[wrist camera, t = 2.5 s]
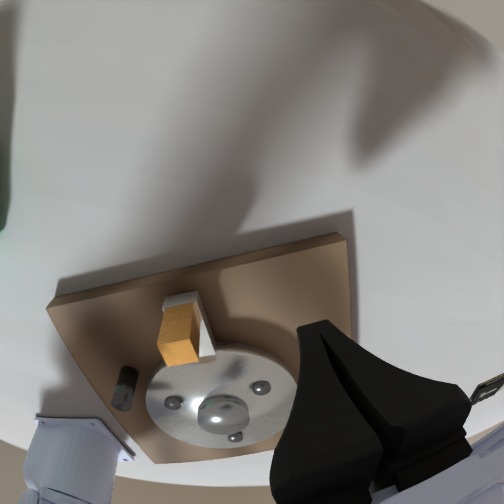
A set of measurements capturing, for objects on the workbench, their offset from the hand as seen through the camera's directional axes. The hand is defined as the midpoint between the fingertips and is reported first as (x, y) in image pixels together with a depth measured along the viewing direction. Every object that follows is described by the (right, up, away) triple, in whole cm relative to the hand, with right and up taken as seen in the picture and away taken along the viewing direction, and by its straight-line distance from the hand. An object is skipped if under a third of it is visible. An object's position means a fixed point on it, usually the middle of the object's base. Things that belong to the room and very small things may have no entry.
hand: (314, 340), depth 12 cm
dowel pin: (-11, -5, +7) cm, 14 cm away
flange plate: (-5, -5, +8) cm, 11 cm away
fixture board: (-5, -6, +10) cm, 13 cm away
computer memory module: (+35, -16, +20) cm, 43 cm away
